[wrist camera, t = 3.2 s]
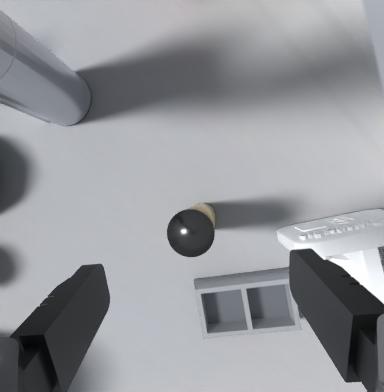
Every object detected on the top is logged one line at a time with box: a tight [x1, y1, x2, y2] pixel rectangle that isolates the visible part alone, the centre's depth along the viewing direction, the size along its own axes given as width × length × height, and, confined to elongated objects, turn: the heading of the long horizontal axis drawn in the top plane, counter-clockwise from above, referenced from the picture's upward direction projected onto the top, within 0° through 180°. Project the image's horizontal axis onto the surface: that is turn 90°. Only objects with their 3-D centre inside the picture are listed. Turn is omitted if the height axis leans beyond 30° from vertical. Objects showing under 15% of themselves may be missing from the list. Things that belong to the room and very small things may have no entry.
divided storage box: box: [194, 267, 302, 339], centre depth 34 cm, size 15×9×4 cm, turn 100°
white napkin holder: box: [276, 209, 384, 303], centre depth 28 cm, size 15×11×12 cm
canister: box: [167, 203, 216, 257], centre depth 29 cm, size 5×5×15 cm
